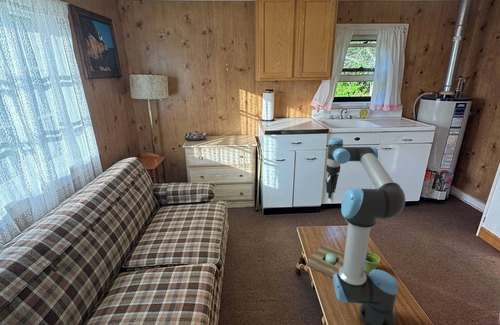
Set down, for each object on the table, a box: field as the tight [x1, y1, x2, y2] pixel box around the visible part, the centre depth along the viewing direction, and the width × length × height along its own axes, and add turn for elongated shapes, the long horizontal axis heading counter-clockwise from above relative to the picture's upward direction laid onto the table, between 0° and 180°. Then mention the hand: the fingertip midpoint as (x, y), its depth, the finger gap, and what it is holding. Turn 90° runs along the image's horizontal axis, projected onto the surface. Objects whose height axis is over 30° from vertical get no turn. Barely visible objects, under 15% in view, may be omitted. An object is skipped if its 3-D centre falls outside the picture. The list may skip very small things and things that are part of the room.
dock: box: [306, 243, 345, 279], centre depth 157 cm, size 20×20×4 cm
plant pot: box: [364, 251, 381, 274], centre depth 152 cm, size 9×9×9 cm
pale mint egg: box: [325, 253, 337, 265], centre depth 157 cm, size 6×6×5 cm
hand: (329, 202), depth 159 cm, fingers closed
